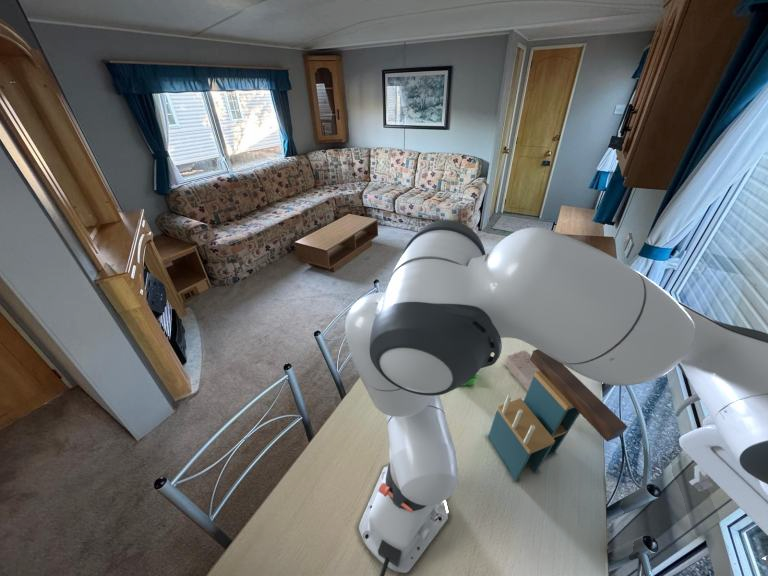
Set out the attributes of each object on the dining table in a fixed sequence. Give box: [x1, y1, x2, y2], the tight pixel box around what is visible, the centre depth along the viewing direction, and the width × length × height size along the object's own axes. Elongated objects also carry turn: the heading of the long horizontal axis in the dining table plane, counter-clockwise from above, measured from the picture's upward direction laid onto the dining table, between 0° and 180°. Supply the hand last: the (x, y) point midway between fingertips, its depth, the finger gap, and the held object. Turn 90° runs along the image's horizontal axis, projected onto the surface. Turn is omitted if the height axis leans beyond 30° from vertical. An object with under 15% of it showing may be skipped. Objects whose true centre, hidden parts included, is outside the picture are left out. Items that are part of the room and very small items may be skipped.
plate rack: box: [487, 371, 581, 482], centre depth 76 cm, size 12×15×26 cm
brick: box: [504, 349, 540, 392], centre depth 101 cm, size 17×8×5 cm, turn 20°
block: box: [530, 348, 629, 443], centre depth 67 cm, size 22×4×4 cm, turn 19°
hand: (730, 521), depth 44 cm, fingers open, 8 cm apart
